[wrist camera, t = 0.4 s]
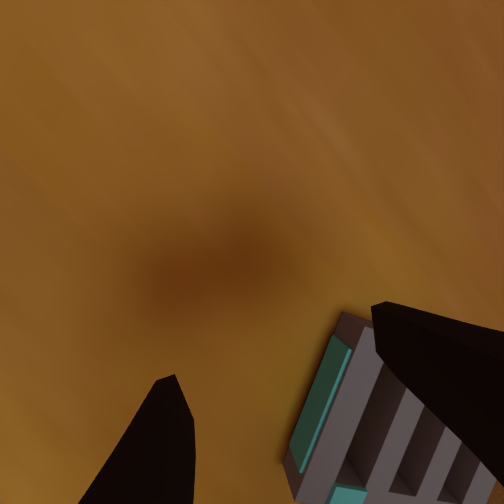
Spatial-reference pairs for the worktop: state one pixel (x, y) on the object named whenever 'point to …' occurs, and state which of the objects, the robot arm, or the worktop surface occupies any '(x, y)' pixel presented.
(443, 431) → the slot rack
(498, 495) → the grey slab
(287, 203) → the worktop surface
